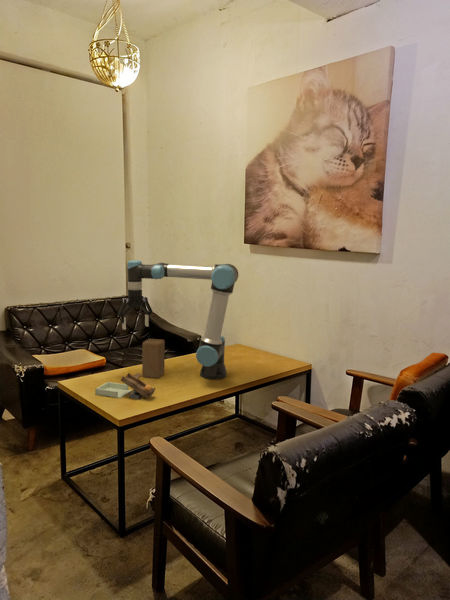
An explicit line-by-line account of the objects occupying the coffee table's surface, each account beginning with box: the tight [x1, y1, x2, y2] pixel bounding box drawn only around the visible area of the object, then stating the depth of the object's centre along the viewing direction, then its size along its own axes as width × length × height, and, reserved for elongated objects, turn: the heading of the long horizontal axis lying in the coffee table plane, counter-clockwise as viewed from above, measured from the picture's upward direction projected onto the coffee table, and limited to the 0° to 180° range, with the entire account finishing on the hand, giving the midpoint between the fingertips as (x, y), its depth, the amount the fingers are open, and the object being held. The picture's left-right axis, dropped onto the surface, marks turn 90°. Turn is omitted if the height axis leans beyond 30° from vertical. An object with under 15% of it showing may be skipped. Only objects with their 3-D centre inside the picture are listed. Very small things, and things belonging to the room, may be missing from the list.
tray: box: [95, 381, 133, 399], centre depth 227 cm, size 14×11×3 cm
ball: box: [144, 384, 153, 392], centre depth 221 cm, size 4×4×4 cm
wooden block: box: [141, 338, 166, 379], centre depth 254 cm, size 10×10×20 cm
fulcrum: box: [128, 389, 144, 400], centre depth 223 cm, size 5×7×4 cm
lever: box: [120, 372, 156, 399], centre depth 226 cm, size 16×14×4 cm
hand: (135, 327), depth 249 cm, fingers open, 13 cm apart
